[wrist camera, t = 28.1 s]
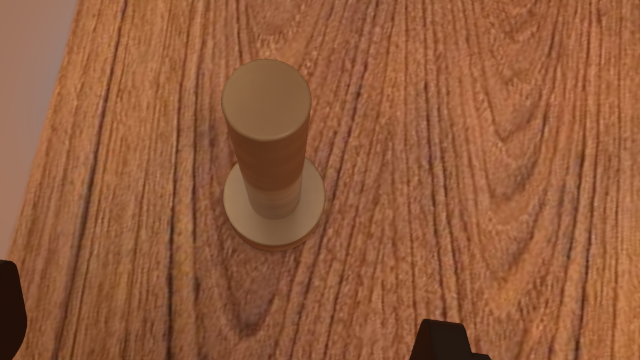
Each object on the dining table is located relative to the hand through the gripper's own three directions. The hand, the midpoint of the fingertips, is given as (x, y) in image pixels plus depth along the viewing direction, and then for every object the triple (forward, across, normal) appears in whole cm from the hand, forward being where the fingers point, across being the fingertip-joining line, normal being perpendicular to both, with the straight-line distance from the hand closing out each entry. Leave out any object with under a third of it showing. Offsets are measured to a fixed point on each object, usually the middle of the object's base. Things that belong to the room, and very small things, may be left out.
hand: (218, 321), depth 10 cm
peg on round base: (+13, 0, +5) cm, 14 cm away
